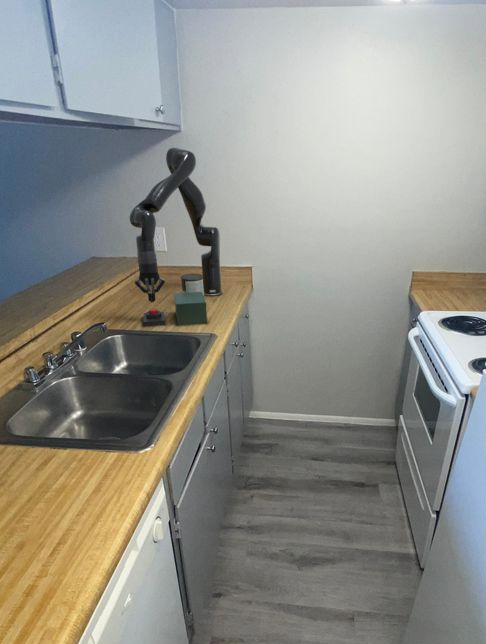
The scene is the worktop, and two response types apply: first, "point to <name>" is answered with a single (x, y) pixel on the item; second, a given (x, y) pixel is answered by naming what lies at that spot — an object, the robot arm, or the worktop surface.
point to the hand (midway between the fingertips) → (152, 301)
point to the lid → (189, 298)
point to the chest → (191, 314)
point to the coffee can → (192, 283)
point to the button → (153, 311)
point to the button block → (154, 319)
